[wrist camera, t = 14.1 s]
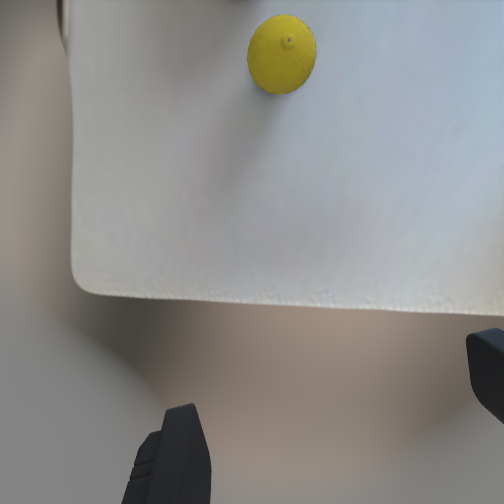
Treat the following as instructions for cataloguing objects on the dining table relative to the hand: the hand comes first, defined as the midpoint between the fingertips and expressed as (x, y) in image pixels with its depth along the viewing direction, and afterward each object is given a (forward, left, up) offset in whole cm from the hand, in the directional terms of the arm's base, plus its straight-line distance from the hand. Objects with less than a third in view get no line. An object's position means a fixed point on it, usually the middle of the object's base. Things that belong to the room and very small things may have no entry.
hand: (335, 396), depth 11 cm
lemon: (+5, +15, -28) cm, 32 cm away
